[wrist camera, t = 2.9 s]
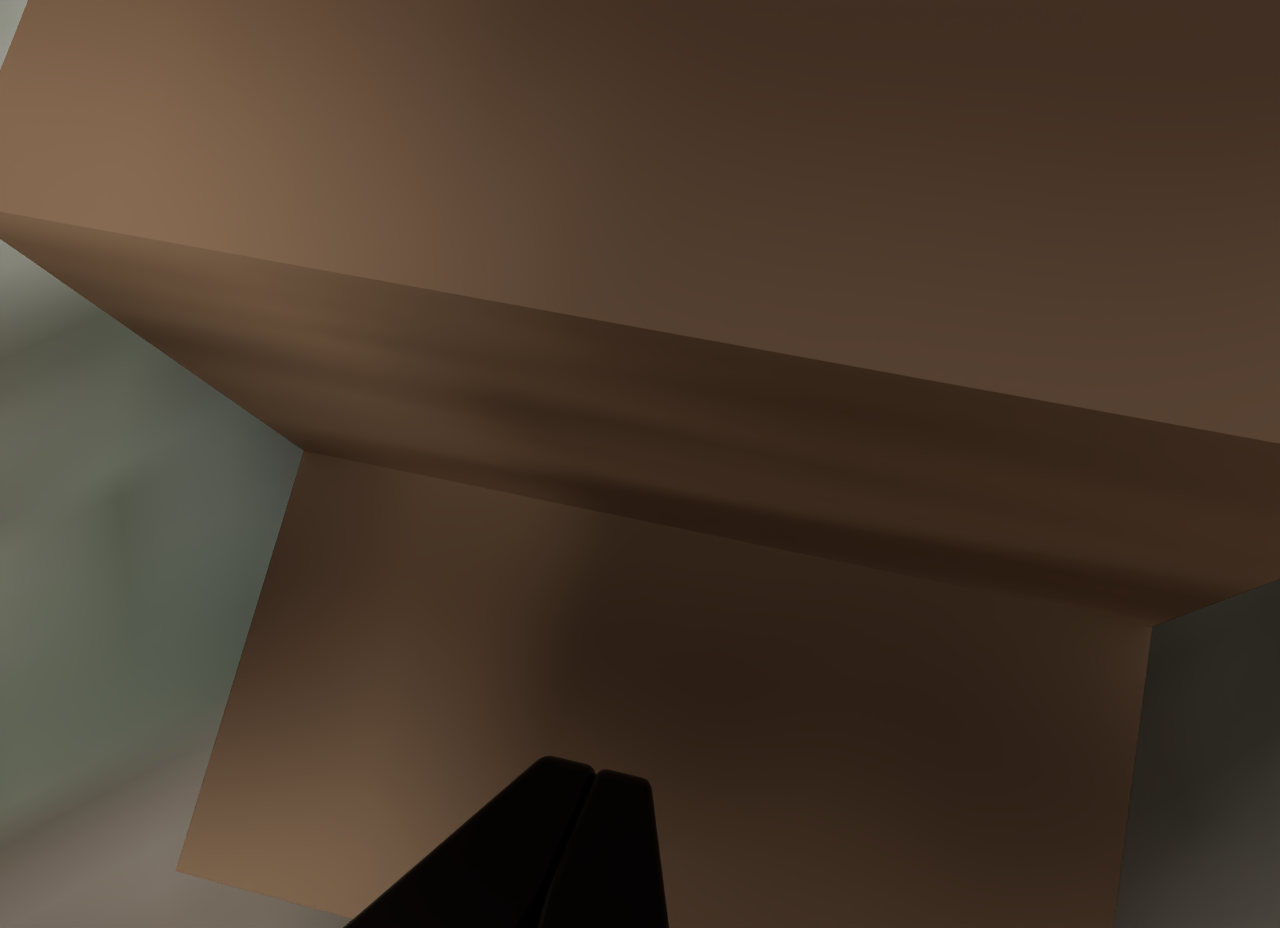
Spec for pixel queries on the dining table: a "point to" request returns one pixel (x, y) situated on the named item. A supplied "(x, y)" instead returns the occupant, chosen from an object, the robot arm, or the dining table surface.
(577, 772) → the robot arm
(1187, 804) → the dining table surface
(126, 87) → the brown stepped block
